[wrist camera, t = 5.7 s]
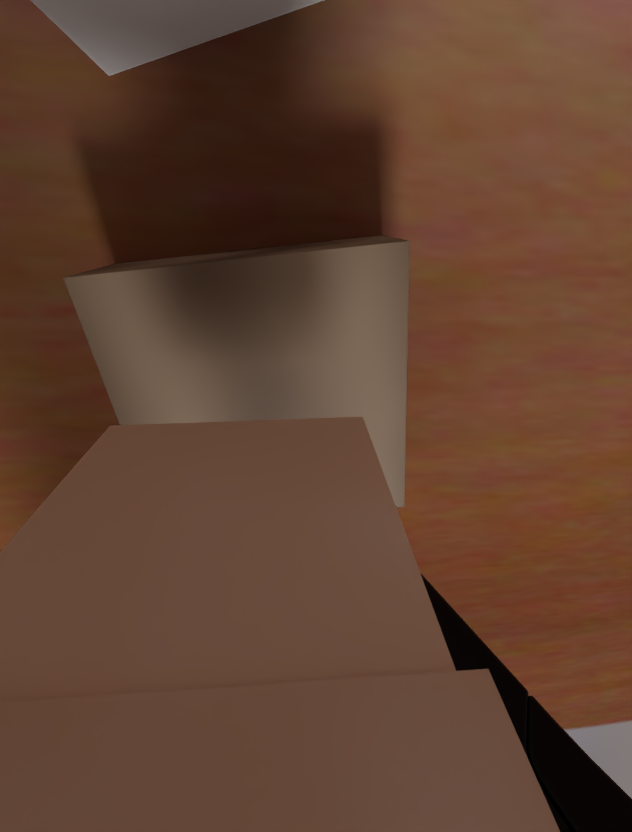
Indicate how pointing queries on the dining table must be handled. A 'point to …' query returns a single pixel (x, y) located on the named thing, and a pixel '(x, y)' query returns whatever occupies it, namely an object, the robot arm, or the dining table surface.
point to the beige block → (258, 337)
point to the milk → (154, 25)
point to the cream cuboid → (239, 649)
